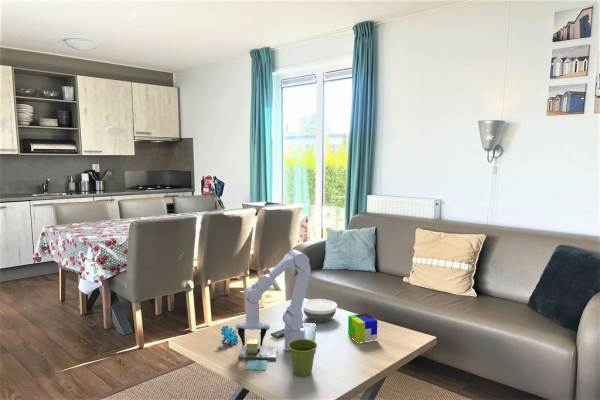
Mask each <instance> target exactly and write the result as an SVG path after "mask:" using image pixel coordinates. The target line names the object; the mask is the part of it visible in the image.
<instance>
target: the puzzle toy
mask: <svg viewBox="0 0 600 400" xmlns="http://www.w3.org/2000/svg"><path fill="white" fill-rule="evenodd" d="M347 316H348V322H347V323H348V325H347V326H348V327H347V330H348V331H347V336H348V335H349V336H350V337H352V338H353V339H354V340H355V341H357V342H358V343H360V342H365V341H370V340H375V339H377V340H378V319H376V318H375V317H373V316H372V315H370V314H368V313H365V312H364V313H360V314H353V315H347ZM349 336H348V337H349ZM350 337H349V338H350ZM352 338H351V339H352ZM353 339H352V340H353ZM354 340H353V341H354ZM355 341H354V342H355ZM358 343H357V344H358Z"/></svg>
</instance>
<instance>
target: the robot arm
mask: <svg viewBox="0 0 600 400" xmlns="http://www.w3.org/2000/svg"><path fill="white" fill-rule="evenodd" d="M287 269H296V270H297V272H298V273H297V277H296V280H295V283H294V287H293V293H292V295H291V300H290V304H289V306H287V308H286V310H285V312H284V313H283V315H282V321H283V323H284V341H283V349H282V350H283V351H289V352H290V349H289V347H288V343H289V342H291V341H293V340H296V339H306V327H303V325H304V321H303V316H304V314H303V313H304V312H303V310H302V309H303V306H302V305H303V303H304V302H305V301H304V300H305V296H306V292H307V289H308V288H307V287H308V285H309V280H310V277H311V273H312V272H311V271H312V270H311V265H310V258H309V257H308V256H307V254H305V253H303V252H301V251H299V250H297V249H296V248H295V249H291V250H289V251H288V252H287V253H286V254H285V255H284V256H283V258H282V259H281V260H280V261H279V263H277V264H276V266H275V267H273V269H272V270H271V271H269V273H267V274H263V275H260V276H259V277H258V278H259V279H258V280H257V281H256V282H254V283H252V284H250V285H251V286H249V287H246V289H245V290H244V291H245V292H243V296H244V297H245V322H242V323H241V322H240V323H236V324H235V330H236V331H237V334H238V337H239V338H240V341H241V344H242V346H246V345H245V344H246V337H245V336H246V335H245V334H246V330H249V331H252V330H260V332H259V334H260V341H259V342H260V343H259V347H263V342H264V339H265V336H266V334H267V331H270V323H269V324H267V323H261V322H260V301H261V299H262V296H263V295H264V293H266V291H268V290H269V289H270V288H271V287H272V286H273V284H274V280H276V279H277V277H279V276H281V274H283V273H284V272H285V271H286V270H287Z"/></svg>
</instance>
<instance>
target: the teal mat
mask: <svg viewBox="0 0 600 400" xmlns="http://www.w3.org/2000/svg"><path fill="white" fill-rule="evenodd" d="M267 364H268V360H247V364H246V366H245V370H246V371H266V369H267Z"/></svg>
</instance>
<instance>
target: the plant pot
mask: <svg viewBox="0 0 600 400" xmlns="http://www.w3.org/2000/svg"><path fill="white" fill-rule="evenodd" d="M318 346H319V345H318V343H317V342H316V341H313V340H311V339H309V338H308V339H307V338H305V339H296V340H293V341H291V342H289V343H288V347H289V349H290V351H289V354H290V358H291V363H292V364H291V365H292V368H293V369H292V370H293V374H295V375H296V376H301V377H305V376H309V375H311V373H312V371H313V364H314V358H315V354H316V352H317V349H318Z"/></svg>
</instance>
